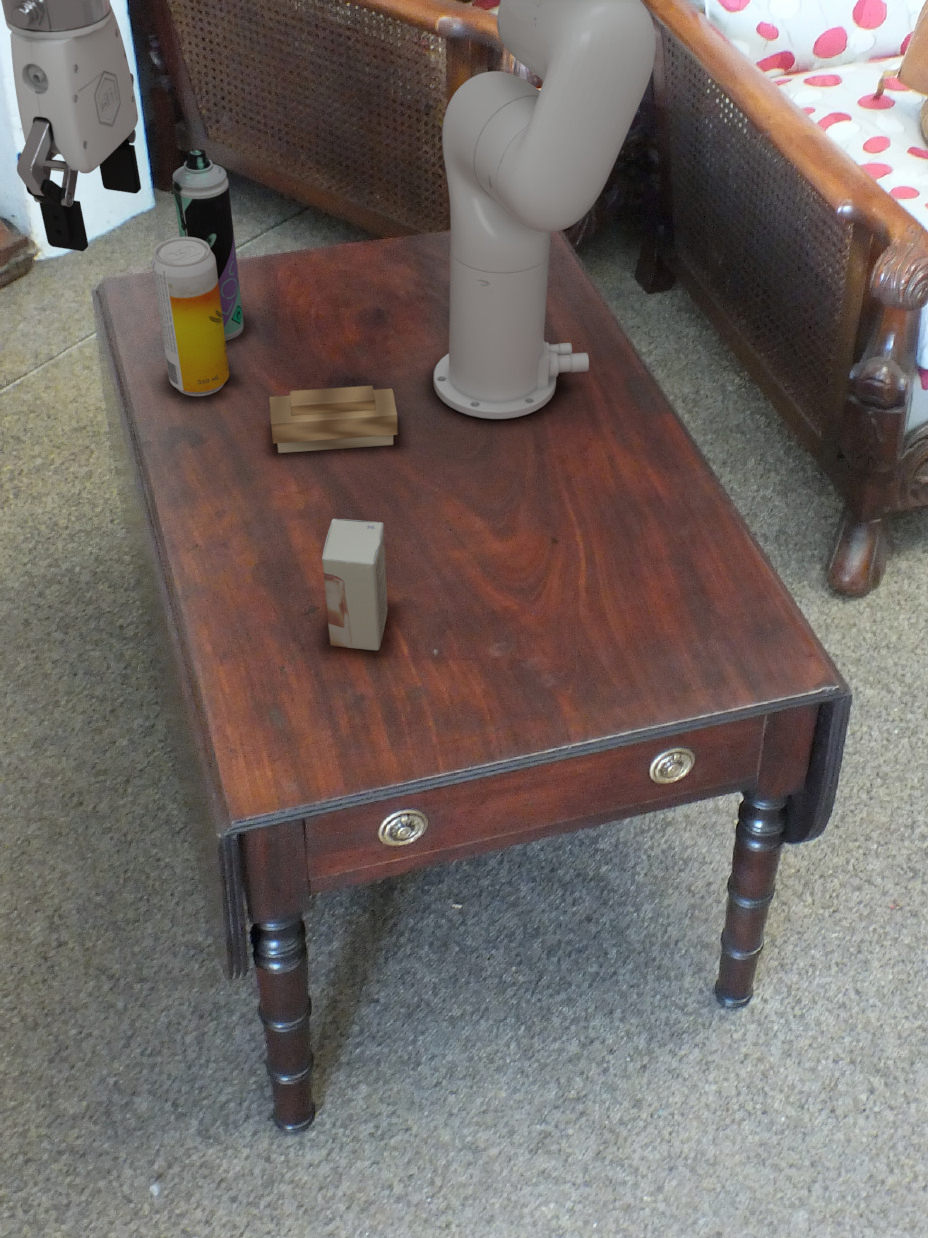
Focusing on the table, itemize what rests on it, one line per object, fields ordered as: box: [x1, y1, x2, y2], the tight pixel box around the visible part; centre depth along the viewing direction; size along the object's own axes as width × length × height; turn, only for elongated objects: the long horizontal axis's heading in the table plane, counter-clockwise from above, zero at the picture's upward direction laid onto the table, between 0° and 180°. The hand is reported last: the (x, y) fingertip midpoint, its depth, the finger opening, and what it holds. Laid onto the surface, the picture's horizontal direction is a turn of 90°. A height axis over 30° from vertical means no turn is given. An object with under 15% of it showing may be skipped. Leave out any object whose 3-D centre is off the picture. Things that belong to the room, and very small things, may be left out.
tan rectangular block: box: [268, 385, 399, 454], centre depth 134 cm, size 12×4×5 cm, turn 98°
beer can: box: [150, 236, 230, 397], centre depth 137 cm, size 6×6×15 cm
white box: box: [321, 518, 388, 651], centre depth 113 cm, size 5×4×10 cm
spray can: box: [172, 149, 245, 342], centre depth 142 cm, size 6×6×20 cm
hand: (96, 217), depth 111 cm, fingers open, 9 cm apart
